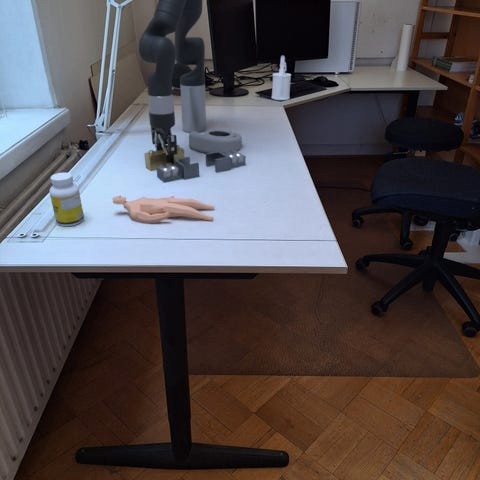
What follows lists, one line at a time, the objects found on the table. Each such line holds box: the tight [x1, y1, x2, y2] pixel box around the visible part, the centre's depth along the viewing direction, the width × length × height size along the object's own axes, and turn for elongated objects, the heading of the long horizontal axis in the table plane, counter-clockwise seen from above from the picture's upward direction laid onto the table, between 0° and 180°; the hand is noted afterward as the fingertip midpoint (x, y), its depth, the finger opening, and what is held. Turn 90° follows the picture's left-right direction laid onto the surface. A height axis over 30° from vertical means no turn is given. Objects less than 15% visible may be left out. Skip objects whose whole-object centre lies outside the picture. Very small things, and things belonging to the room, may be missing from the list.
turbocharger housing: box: [188, 129, 243, 154], centre depth 154 cm, size 17×6×15 cm
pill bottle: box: [49, 172, 85, 227], centre depth 104 cm, size 6×6×12 cm
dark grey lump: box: [171, 62, 193, 97], centre depth 227 cm, size 13×13×15 cm
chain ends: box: [156, 150, 246, 183], centre depth 135 cm, size 7×28×4 cm, turn 122°
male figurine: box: [111, 195, 215, 224], centre depth 110 cm, size 11×5×25 cm
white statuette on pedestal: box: [271, 55, 292, 101], centre depth 219 cm, size 10×9×20 cm
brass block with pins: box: [143, 144, 186, 172], centre depth 139 cm, size 4×12×6 cm, turn 126°
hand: (165, 162), depth 140 cm, fingers open, 7 cm apart
